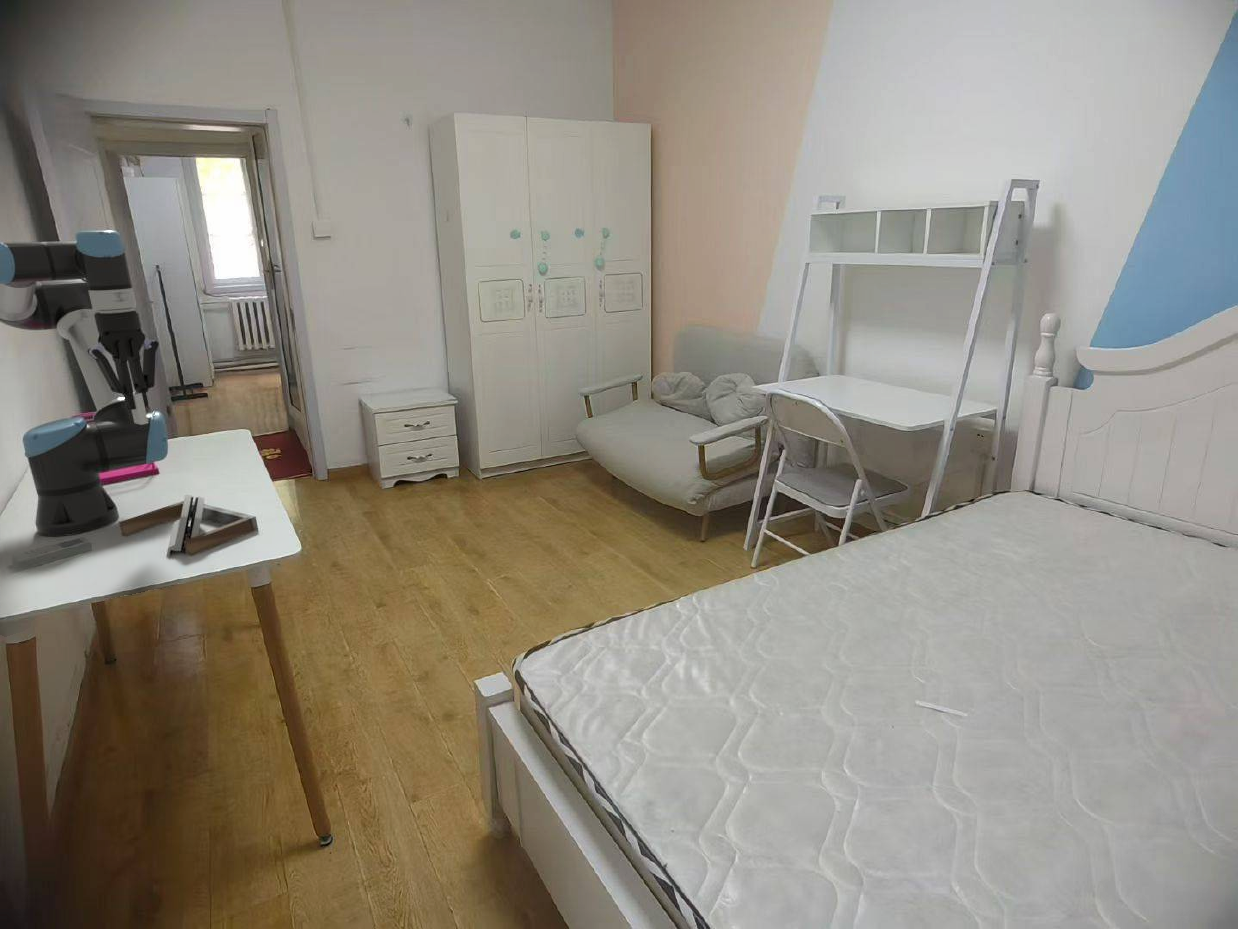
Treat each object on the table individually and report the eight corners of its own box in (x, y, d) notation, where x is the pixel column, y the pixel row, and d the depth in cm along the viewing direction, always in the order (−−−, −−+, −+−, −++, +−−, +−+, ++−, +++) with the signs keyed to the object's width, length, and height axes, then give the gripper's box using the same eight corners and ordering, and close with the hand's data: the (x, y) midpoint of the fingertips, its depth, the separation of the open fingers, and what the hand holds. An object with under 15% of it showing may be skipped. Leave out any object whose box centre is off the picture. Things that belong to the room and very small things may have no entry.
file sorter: (83, 489, 191) (67, 430, 186) (75, 467, 209) (60, 414, 205) (159, 474, 201) (146, 418, 196) (146, 455, 220) (133, 403, 215)
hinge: (172, 529, 161) (181, 486, 160) (197, 532, 163) (205, 489, 162) (166, 557, 147) (175, 510, 145) (193, 559, 149) (202, 513, 148)
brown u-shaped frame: (122, 535, 159) (118, 522, 158) (189, 511, 171) (186, 499, 170) (191, 555, 147) (188, 542, 146) (258, 529, 159) (255, 516, 158)
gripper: (89, 315, 141) (117, 433, 149) (158, 307, 152) (182, 418, 160) (70, 313, 145) (99, 428, 153) (139, 306, 156) (163, 414, 163)
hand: (141, 422), depth 156 cm, fingers closed
